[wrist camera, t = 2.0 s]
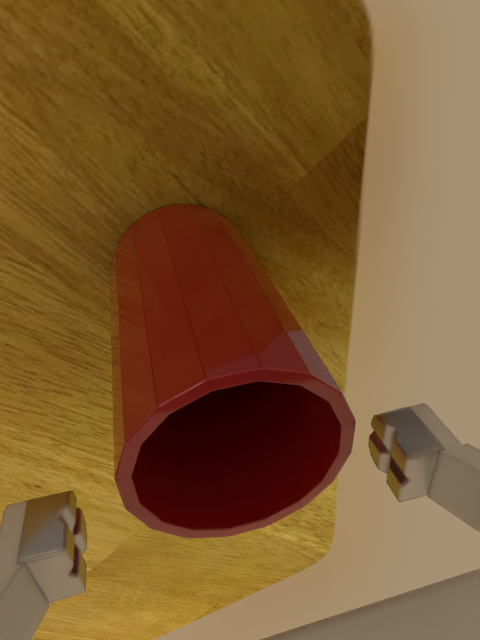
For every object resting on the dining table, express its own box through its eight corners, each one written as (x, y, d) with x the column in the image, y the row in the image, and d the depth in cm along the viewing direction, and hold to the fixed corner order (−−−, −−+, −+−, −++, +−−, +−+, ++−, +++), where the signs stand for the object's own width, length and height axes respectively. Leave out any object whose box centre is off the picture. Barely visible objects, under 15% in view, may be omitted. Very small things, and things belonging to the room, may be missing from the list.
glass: (95, 215, 18) (88, 404, 9) (244, 194, 19) (365, 345, 10) (126, 338, 22) (142, 561, 13) (251, 315, 23) (345, 505, 14)
